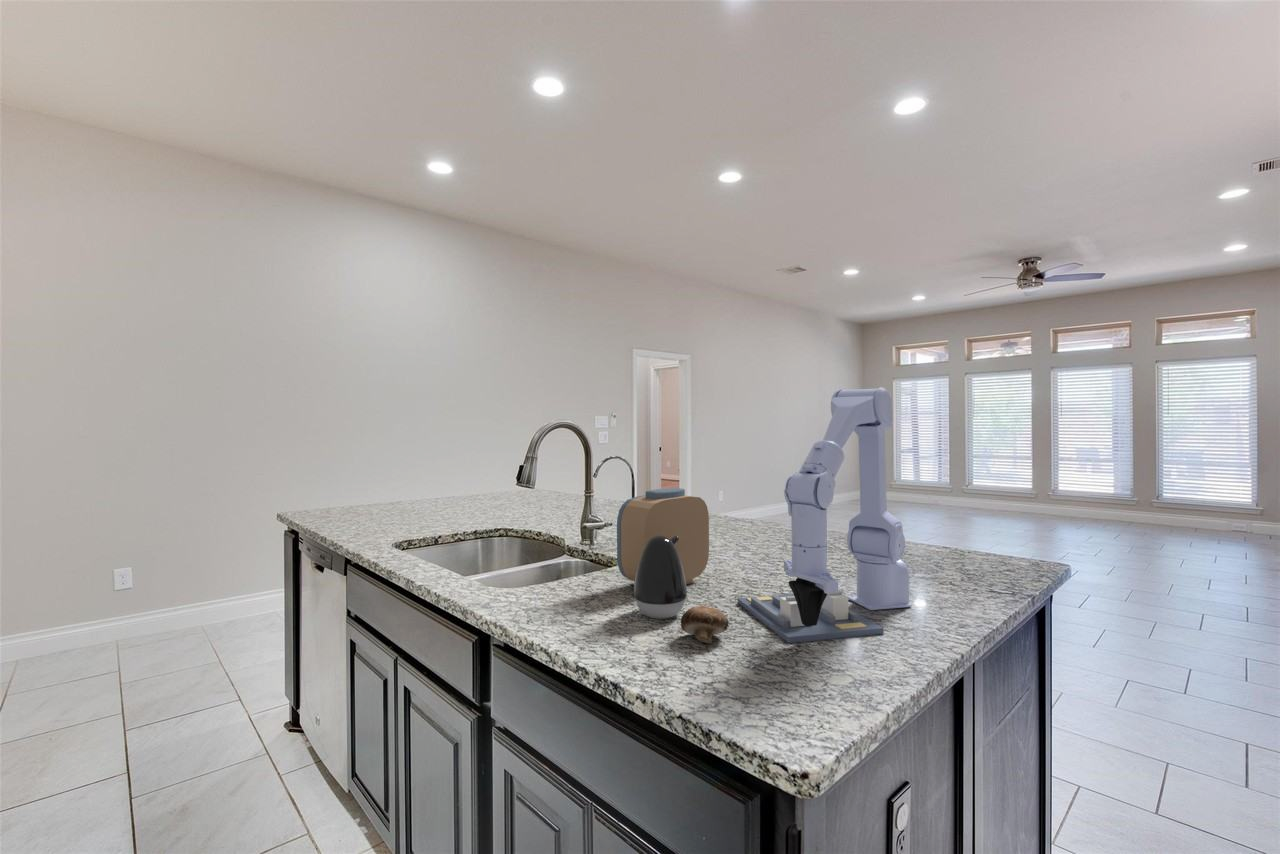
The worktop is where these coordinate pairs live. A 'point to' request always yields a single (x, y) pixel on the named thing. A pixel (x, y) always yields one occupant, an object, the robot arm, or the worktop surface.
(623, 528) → the alarm clock
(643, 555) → the pump dispenser
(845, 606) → the tab
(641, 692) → the worktop surface
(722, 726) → the worktop surface
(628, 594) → the worktop surface
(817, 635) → the switch board
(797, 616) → the tab
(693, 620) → the mushroom
